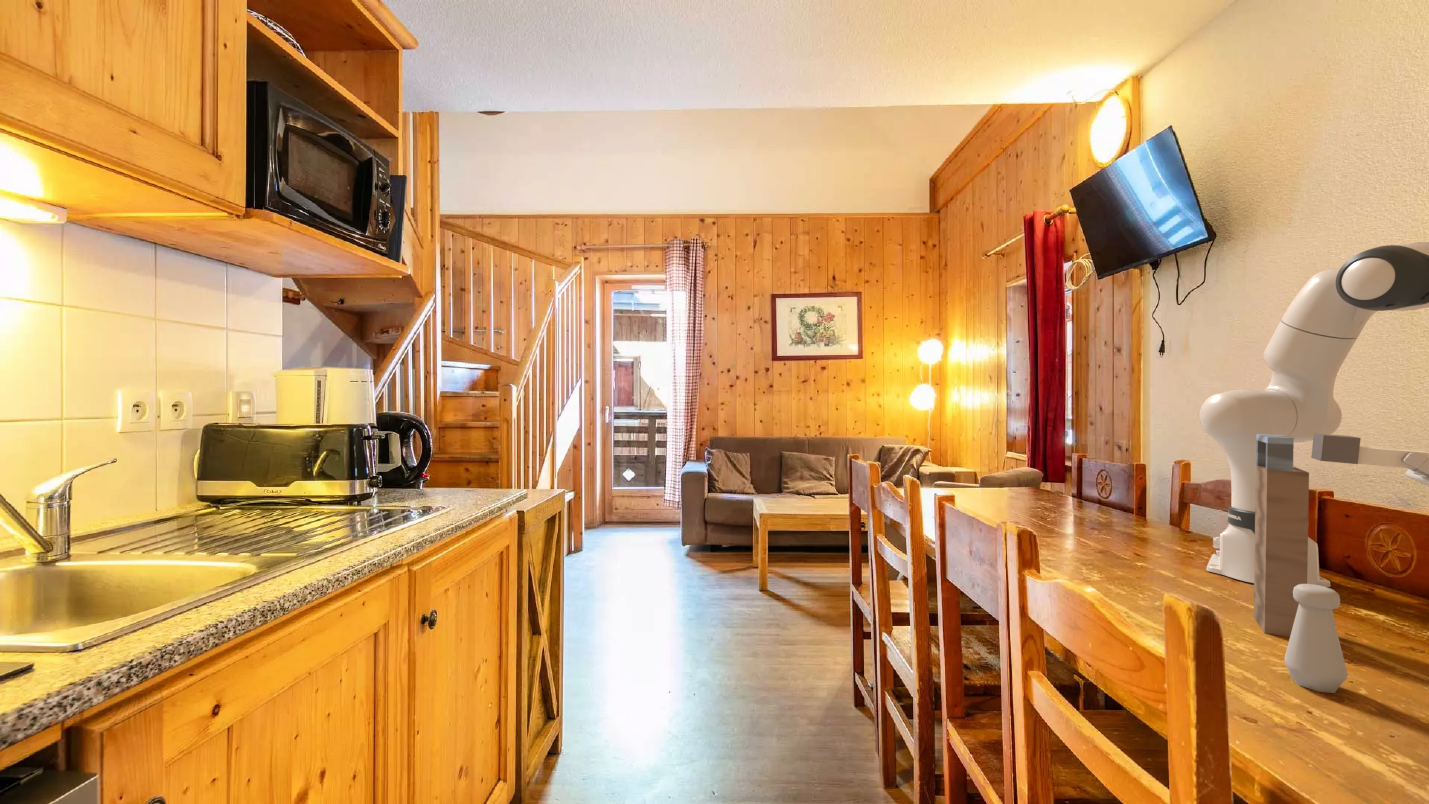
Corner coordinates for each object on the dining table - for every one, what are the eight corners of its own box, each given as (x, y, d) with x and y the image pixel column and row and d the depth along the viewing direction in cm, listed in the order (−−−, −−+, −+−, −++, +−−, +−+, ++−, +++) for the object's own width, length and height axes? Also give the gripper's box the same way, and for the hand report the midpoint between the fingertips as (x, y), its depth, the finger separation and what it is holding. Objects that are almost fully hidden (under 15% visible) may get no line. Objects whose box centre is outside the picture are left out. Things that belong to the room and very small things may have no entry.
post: (1253, 616, 101) (1256, 434, 100) (1292, 622, 98) (1295, 435, 98) (1264, 632, 94) (1267, 437, 94) (1306, 639, 92) (1309, 438, 91)
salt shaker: (1360, 698, 74) (1362, 595, 74) (1306, 694, 75) (1308, 592, 75) (1322, 676, 80) (1324, 581, 80) (1273, 672, 81) (1274, 578, 81)
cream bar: (1311, 457, 96) (1313, 433, 95) (1428, 468, 89) (1431, 441, 89) (1321, 460, 91) (1323, 435, 91) (1444, 471, 85) (1447, 444, 84)
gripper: (1500, 481, 90) (1386, 433, 96) (1594, 502, 73) (1448, 442, 79) (1468, 514, 92) (1358, 465, 98) (1552, 543, 75) (1412, 480, 81)
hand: (1399, 455), depth 89 cm, fingers closed on cream bar, 3 cm apart
